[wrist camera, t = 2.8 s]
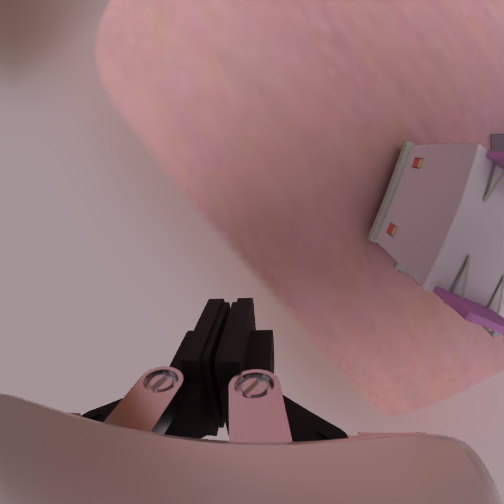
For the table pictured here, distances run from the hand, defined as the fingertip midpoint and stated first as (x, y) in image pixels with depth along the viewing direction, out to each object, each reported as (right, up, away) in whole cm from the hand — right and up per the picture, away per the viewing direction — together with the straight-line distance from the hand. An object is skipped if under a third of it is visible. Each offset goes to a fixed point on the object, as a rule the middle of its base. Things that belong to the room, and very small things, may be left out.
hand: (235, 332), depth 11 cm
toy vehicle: (+20, +5, +10) cm, 23 cm away
